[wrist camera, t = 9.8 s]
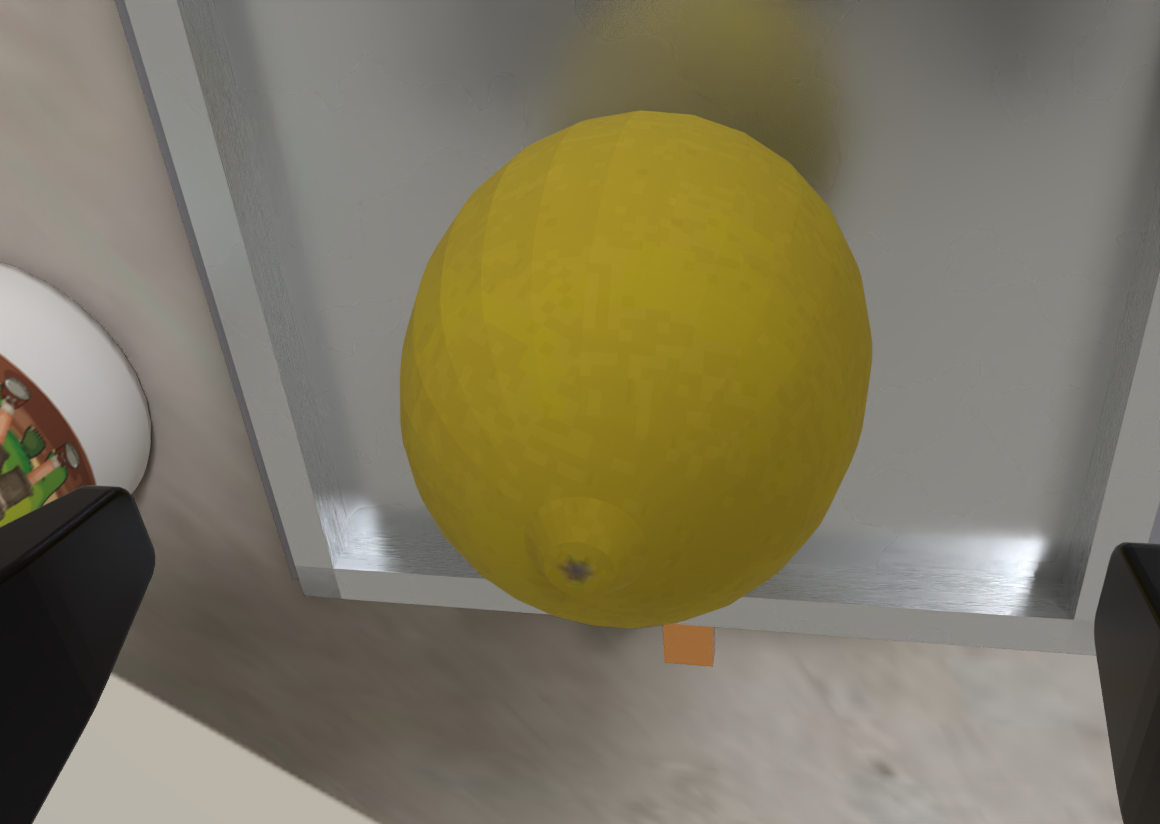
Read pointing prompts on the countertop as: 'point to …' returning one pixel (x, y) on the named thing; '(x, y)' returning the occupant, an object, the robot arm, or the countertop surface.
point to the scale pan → (830, 166)
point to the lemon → (636, 370)
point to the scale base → (1156, 537)
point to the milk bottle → (62, 400)
